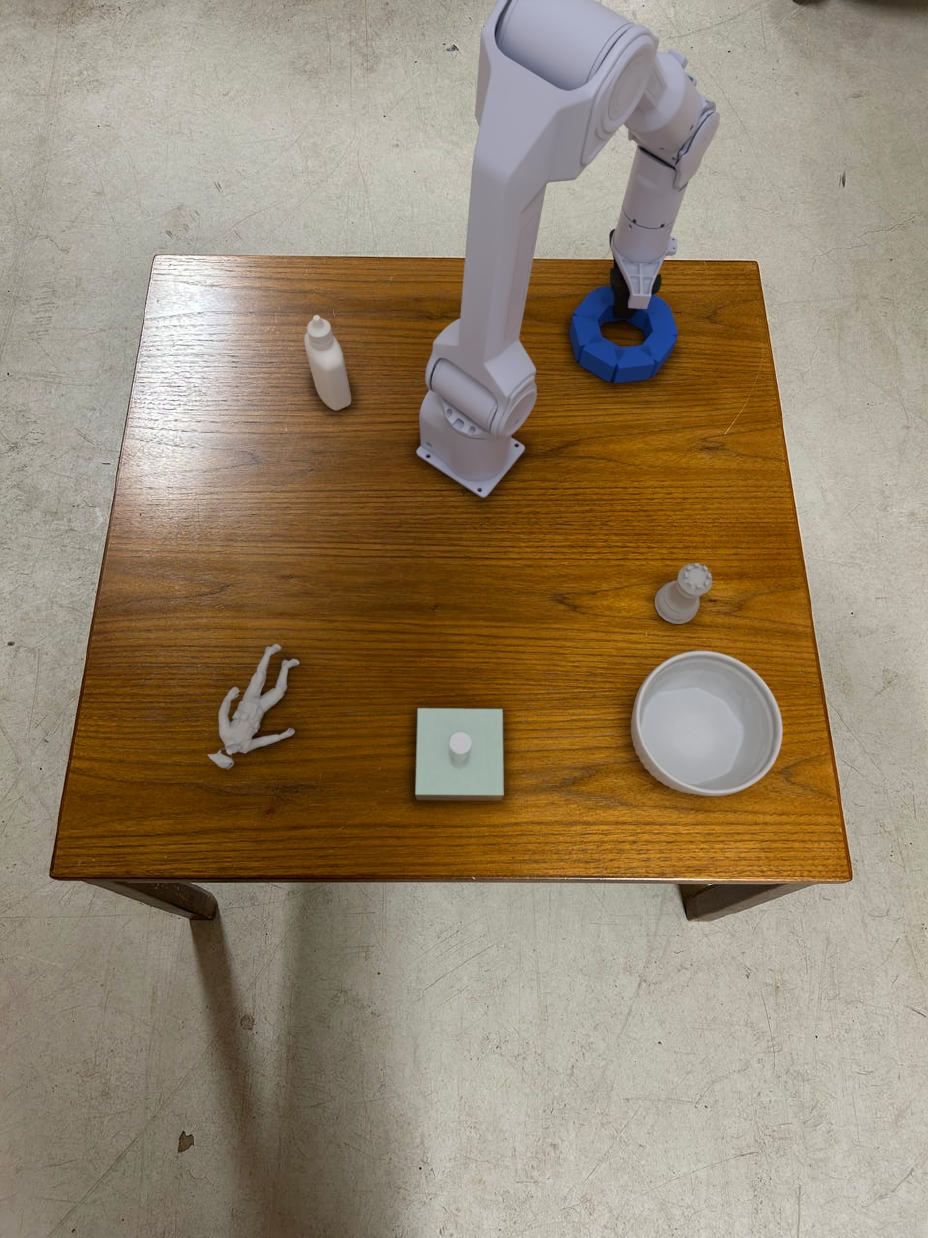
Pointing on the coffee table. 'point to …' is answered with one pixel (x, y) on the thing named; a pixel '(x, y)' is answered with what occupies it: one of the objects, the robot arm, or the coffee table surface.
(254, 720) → the soldier figure
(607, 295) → the blue ring
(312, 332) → the eye dropper bottle
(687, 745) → the ramekin
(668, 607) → the rook chess piece
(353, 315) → the coffee table surface
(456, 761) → the pale green peg block
